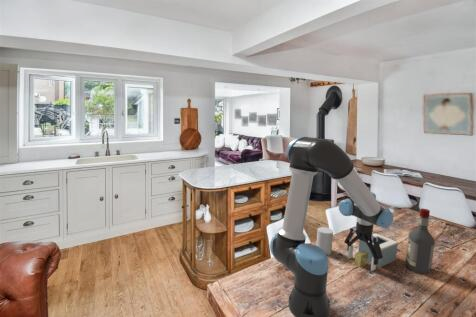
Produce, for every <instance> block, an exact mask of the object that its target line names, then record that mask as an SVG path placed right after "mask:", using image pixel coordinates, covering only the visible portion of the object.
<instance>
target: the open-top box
mask: <svg viewBox="0 0 476 317" xmlns="http://www.w3.org/2000/svg"><path fill="white" fill-rule="evenodd" d="M372 235H373V236H374V237H378V238H379V245H380V249H381V252H382V256H383V258H381V259H378V264H377V265H376V267H378V268H382V267H384V266H386V265H389V264H391V263H393V262H394V261H396V260H397V253H398V246H399V244H398V243H399V242H398V241H396V240H393V239H391V238H389V237H387V236H384V235H382V234H379V233H377V232H376V233H372ZM371 240H372V239H371ZM368 242H369V241H368ZM372 242H373V241H372ZM373 245H374V244H373ZM360 251H365V252H368V262H369V263H370V264H371V262H372V258H373V255H372V253H371V251H370V249H369V247H368V245H367V244H366V242H363V241H361V240H359V243H358V252H360Z"/></svg>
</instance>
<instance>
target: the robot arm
mask: <svg viewBox="0 0 476 317" xmlns="http://www.w3.org/2000/svg"><path fill="white" fill-rule="evenodd" d="M286 157H287V159H288V161H289V169H290V170H291V178H290V183H289V187H288V188H289V189H288V194H287V201H286V204H285V209H284V210H285V211H284V216H283V223H282V227H281V228H279V229H278V230H277V233H275V234H274V236H273V237H272V238H271V241H270V243H269V249H270V253H271V255H272V256H273V257H274V258H275V260H276V261H277V262H279V263H280V264H281V265H283V267H285V268H286V269H287V270H288V271H290V272H291V273H292V274H293V275H294V281H293V282H294V283H293V287H292V289H291V292H290V294H289V296H288V309H289V310H290V312H291V314H293V316H295V317H330V307H331V306H330V303H329V300H328V296H327V281H328V270H329V258H328V255H327V254H326V253H325V251H324V250H323V249H321V248H320V247H318V246H316V244H314V245H313V244H312V243H306V238H307V236H306V234H305V233H304V229H305V224H306V218H307V213H308V208H309V201H310V196H311V192H312V187H313V186H312V185H313V182H314V176H316V175H317V174H318V173H319V170H320V171H322V172H324V173H326V174H328V176H329V177H330V178H331V180H336V181H337V183H338V184H339V185H340V186H341V188H342V189H343V190H344V192H346V194H347V195H348V196H349V197H350V198H346V199H343V200H340V201H339V203H338V211H339V213H340V214H341V215H342V216H345V217H350V216H353V217H355V218H356V224H355V226H354V227H350V229H349V232H348V234H347V236H346V238H345V240H344V244H346V245H347V246H346V247H347V248H346V250H347V252H348V253H347V259H348V260H349V259H352V258H353V253H354V245H353V244H355V243H356V242H357V241H358V240H359V241H360V240H361V241H363V242H366V244H367V245H368V247H369V249H370V251H371V253H372V255H373V258H372V262H371V263H370V265H371V266H370V271H371V272H373V271H375V270H376V268H377V266H376V265H377V264H378V259H381V258H383V256H382V252H381V249H380V245H379V238H378V237H374V236H373V235H372V234H373V232H374V225H375V226H377V227H380V228H383V229H387V228H390V226H391V225H392V223H393V221H394V214H393V212H392V211H390V210H388V209H387V208H383V207H382V206H381V204H380V203H379V202H378V199H377V194H376V193H375V192H372V191H370V189H369V187H368V186H367V185H366V184H365V182H364V181H363V180H362V178H361V176H360V175H359V173H358V172H357V171H356V169H355V163H354V162H353V160H352V159H351V158H350V156H348V154H347V153H346V152H345V151H344V150H343V149H342V148H341V147H340V146H339V145H338V144H336V143H335V142H333V141H331V140H329V139H325V138H318V137H317V138H316V137H309V136H299V137H295V138H294V139H292V140H291V141H290V142H289V144H288V146H287V148H286ZM354 234H356V236H354ZM353 237H354V238H353ZM371 239H372V240H371ZM368 241H369V242H368ZM372 241H373V242H372ZM373 244H374V245H373Z"/></svg>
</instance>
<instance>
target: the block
mask: <svg viewBox="0 0 476 317" xmlns="http://www.w3.org/2000/svg"><path fill="white" fill-rule="evenodd" d="M366 265H368V252H365V251H360V252H359V251H357V252H355V256H354V266H357V267H358V268H361V267H364V266H366Z"/></svg>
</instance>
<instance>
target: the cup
mask: <svg viewBox="0 0 476 317" xmlns="http://www.w3.org/2000/svg"><path fill="white" fill-rule="evenodd" d="M333 237H334V230H333V229H331V228H330V227H325V226H321V227H318V228H317V230H316V244H315V245H316V246H318V247H320V248H321V249H323V250H324V251H325V253H326V254H327V256H328V255H331V254H332V252H333V251H332V250H333V249H332V248H333V240H334V238H333Z"/></svg>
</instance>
